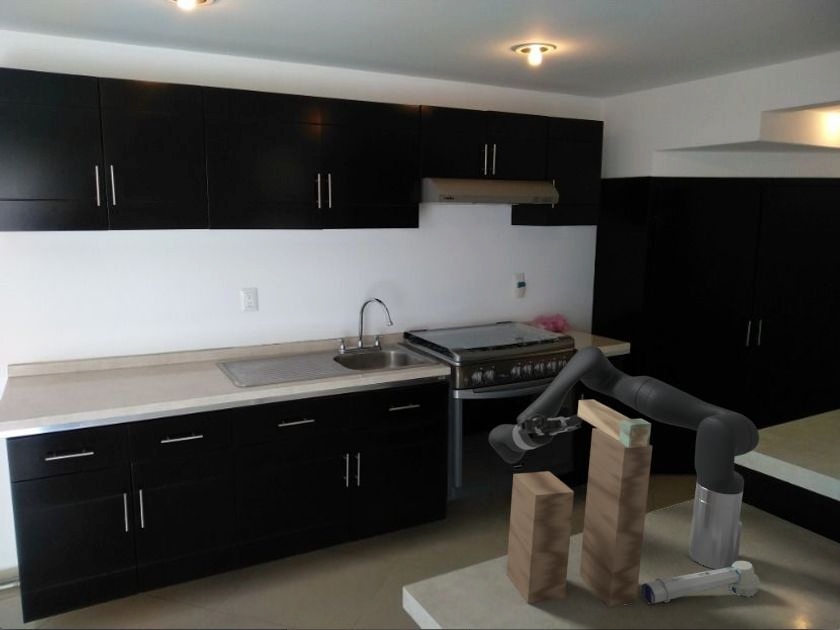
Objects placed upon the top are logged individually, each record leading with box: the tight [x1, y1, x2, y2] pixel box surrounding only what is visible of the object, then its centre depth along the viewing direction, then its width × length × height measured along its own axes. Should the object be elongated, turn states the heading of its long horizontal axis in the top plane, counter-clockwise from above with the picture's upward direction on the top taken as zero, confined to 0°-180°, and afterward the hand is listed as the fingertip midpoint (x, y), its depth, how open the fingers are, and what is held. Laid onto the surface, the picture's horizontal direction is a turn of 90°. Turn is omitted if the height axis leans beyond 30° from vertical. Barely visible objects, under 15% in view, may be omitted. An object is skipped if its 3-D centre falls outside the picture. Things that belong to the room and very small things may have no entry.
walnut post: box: [578, 427, 653, 608], centre depth 124 cm, size 6×11×32 cm, turn 16°
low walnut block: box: [505, 470, 575, 604], centre depth 124 cm, size 8×10×22 cm
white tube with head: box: [640, 560, 760, 605], centre depth 125 cm, size 5×7×25 cm
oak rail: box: [577, 399, 652, 448], centre depth 125 cm, size 4×19×4 cm, turn 16°
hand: (563, 419), depth 142 cm, fingers open, 8 cm apart
